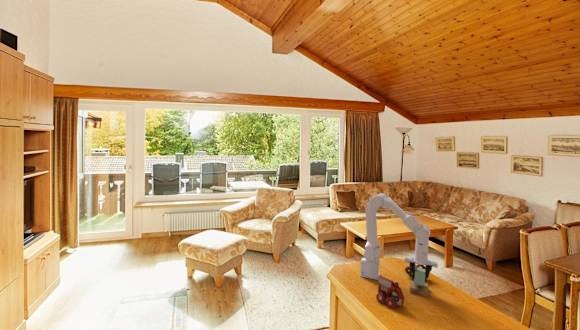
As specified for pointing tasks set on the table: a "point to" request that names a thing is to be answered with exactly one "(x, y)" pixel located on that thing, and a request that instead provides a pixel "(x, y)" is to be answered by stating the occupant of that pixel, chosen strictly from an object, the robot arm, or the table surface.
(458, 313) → the table surface
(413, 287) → the pale grey flat block
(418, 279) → the teal block
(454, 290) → the table surface
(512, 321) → the table surface
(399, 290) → the toy fire truck
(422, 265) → the dark headphones
